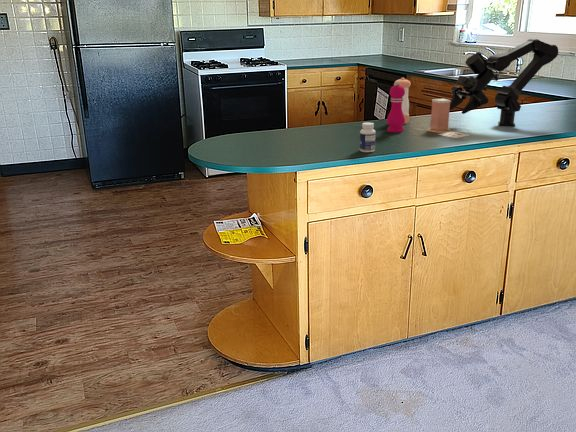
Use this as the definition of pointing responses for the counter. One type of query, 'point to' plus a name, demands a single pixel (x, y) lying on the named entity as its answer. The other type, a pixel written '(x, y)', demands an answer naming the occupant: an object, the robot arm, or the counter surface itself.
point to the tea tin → (440, 114)
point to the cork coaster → (438, 131)
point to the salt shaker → (405, 98)
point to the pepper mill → (396, 109)
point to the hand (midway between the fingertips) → (455, 111)
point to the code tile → (454, 134)
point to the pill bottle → (367, 137)
